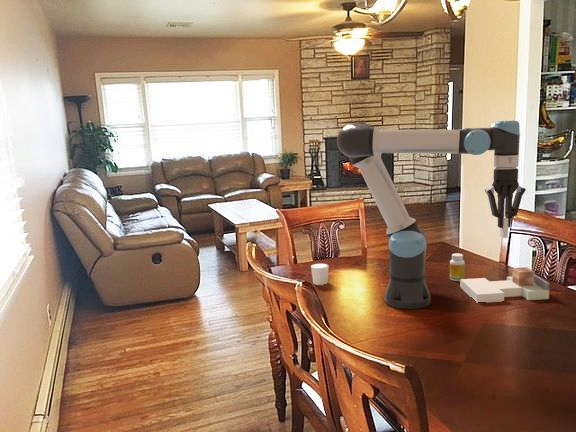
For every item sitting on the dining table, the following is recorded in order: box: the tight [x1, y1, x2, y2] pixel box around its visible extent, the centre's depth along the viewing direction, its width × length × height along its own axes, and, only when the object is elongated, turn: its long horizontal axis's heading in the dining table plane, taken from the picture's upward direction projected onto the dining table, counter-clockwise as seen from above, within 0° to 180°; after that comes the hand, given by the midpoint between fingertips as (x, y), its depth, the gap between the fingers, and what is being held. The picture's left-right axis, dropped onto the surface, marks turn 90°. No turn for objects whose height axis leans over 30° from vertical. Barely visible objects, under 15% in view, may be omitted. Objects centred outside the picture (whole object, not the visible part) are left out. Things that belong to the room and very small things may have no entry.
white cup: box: [310, 263, 329, 286], centre depth 195 cm, size 7×7×7 cm
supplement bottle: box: [449, 252, 466, 282], centre depth 190 cm, size 5×5×10 cm
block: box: [512, 267, 535, 286], centre depth 173 cm, size 5×5×5 cm
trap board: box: [459, 273, 550, 304], centre depth 174 cm, size 24×16×6 cm, turn 91°
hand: (503, 236), depth 170 cm, fingers closed
